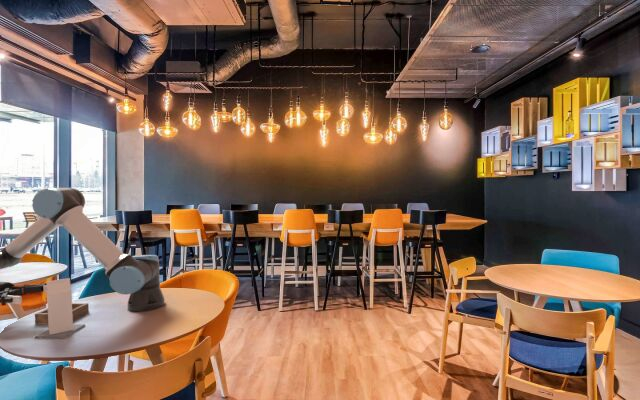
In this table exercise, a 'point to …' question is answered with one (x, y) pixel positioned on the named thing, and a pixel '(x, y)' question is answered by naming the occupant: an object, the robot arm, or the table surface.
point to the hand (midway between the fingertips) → (39, 294)
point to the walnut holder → (77, 312)
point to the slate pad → (60, 335)
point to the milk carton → (59, 306)
